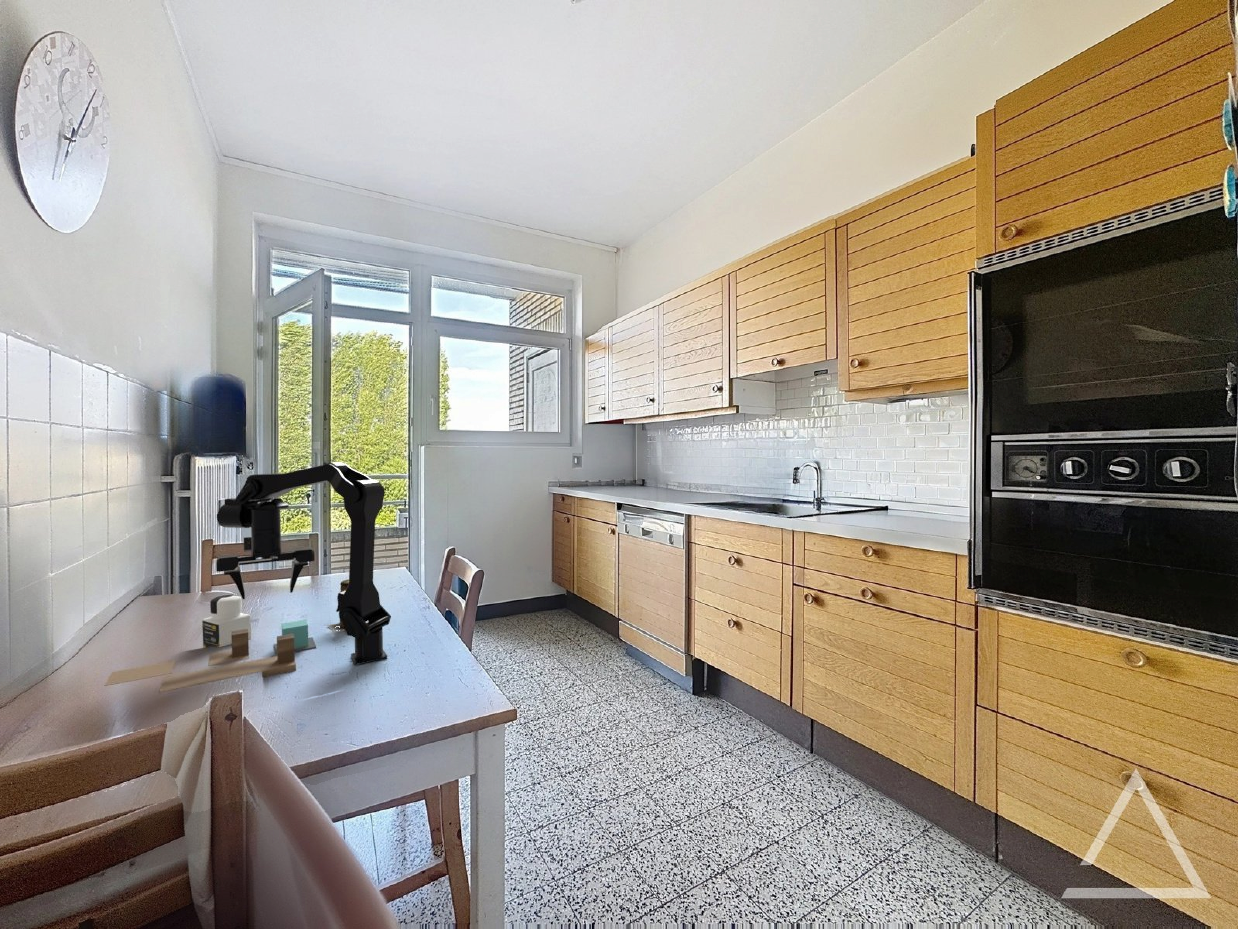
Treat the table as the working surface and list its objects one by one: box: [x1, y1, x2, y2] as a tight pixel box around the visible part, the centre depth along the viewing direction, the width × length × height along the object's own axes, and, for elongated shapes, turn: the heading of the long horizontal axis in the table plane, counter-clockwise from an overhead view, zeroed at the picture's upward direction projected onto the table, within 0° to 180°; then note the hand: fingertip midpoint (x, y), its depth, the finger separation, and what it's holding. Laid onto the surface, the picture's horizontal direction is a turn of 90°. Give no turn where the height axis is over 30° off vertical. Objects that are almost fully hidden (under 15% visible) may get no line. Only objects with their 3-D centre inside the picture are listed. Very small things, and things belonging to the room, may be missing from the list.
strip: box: [159, 634, 297, 693], centre depth 111 cm, size 8×22×6 cm, turn 125°
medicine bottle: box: [201, 594, 252, 649], centre depth 129 cm, size 7×7×12 cm
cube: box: [281, 619, 309, 648], centre depth 128 cm, size 5×5×5 cm
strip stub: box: [208, 629, 250, 667], centre depth 119 cm, size 8×7×6 cm
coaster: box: [273, 636, 317, 656], centre depth 128 cm, size 8×8×1 cm
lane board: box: [104, 660, 176, 687], centre depth 108 cm, size 21×21×2 cm
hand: (267, 595), depth 125 cm, fingers open, 9 cm apart
